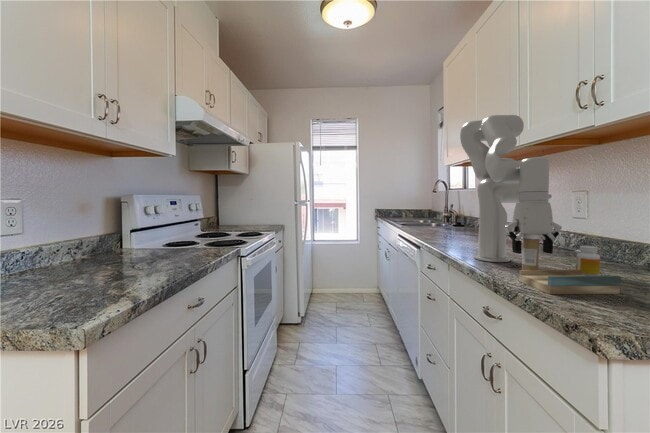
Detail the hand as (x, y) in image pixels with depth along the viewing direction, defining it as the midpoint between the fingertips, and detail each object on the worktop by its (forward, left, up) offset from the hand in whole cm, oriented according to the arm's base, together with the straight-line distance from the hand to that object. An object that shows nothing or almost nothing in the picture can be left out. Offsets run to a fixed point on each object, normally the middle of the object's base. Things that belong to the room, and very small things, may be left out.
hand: (532, 252), depth 94 cm
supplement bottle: (+4, +14, -7) cm, 16 cm away
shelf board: (+12, +1, -7) cm, 14 cm away
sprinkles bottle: (-1, 0, -7) cm, 7 cm away
